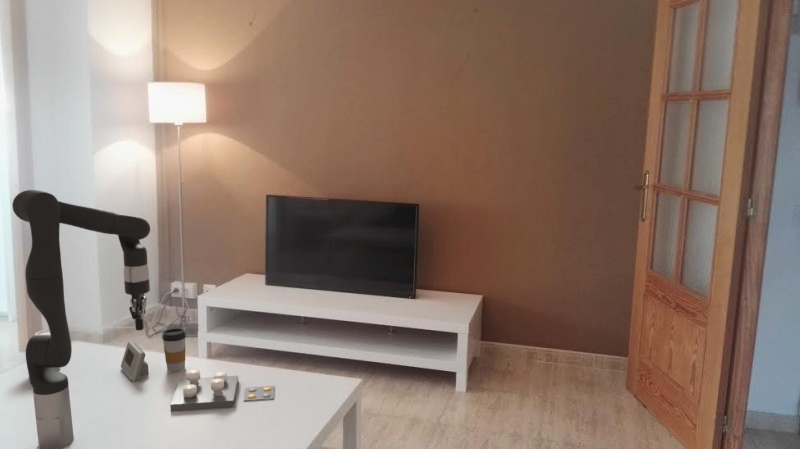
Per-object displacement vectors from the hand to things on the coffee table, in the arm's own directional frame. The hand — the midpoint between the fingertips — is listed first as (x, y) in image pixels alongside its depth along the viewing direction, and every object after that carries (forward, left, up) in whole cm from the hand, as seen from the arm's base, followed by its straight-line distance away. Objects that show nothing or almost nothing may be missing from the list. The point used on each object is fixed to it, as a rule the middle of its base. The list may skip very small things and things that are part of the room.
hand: (139, 329), depth 213 cm
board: (+3, -19, -26) cm, 33 cm away
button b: (-1, -24, -24) cm, 34 cm away
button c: (+8, -15, -25) cm, 30 cm away
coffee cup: (+28, -5, -27) cm, 39 cm away
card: (+2, -37, -26) cm, 46 cm away
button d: (+8, -24, -26) cm, 36 cm away
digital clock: (+26, +9, -27) cm, 39 cm away
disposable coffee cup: (+35, +41, -27) cm, 60 cm away
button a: (-1, -15, -26) cm, 30 cm away
